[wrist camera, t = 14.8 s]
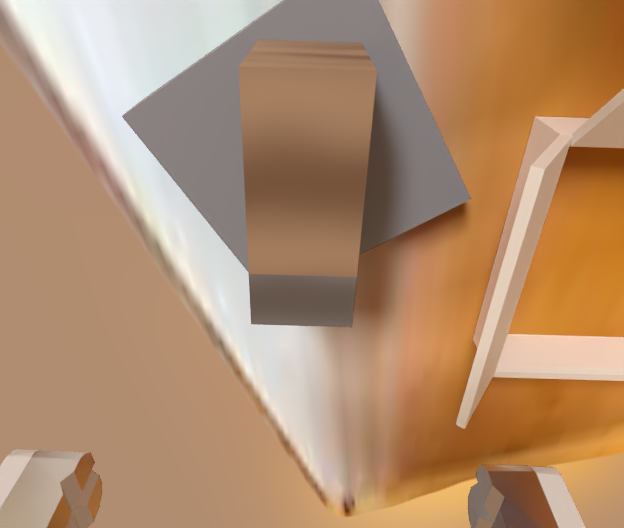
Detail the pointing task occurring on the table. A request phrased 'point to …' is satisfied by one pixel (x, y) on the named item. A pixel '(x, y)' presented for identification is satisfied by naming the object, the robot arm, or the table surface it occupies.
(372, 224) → the slate platform
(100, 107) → the table surface
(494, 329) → the carton
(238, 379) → the table surface
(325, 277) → the walnut block
